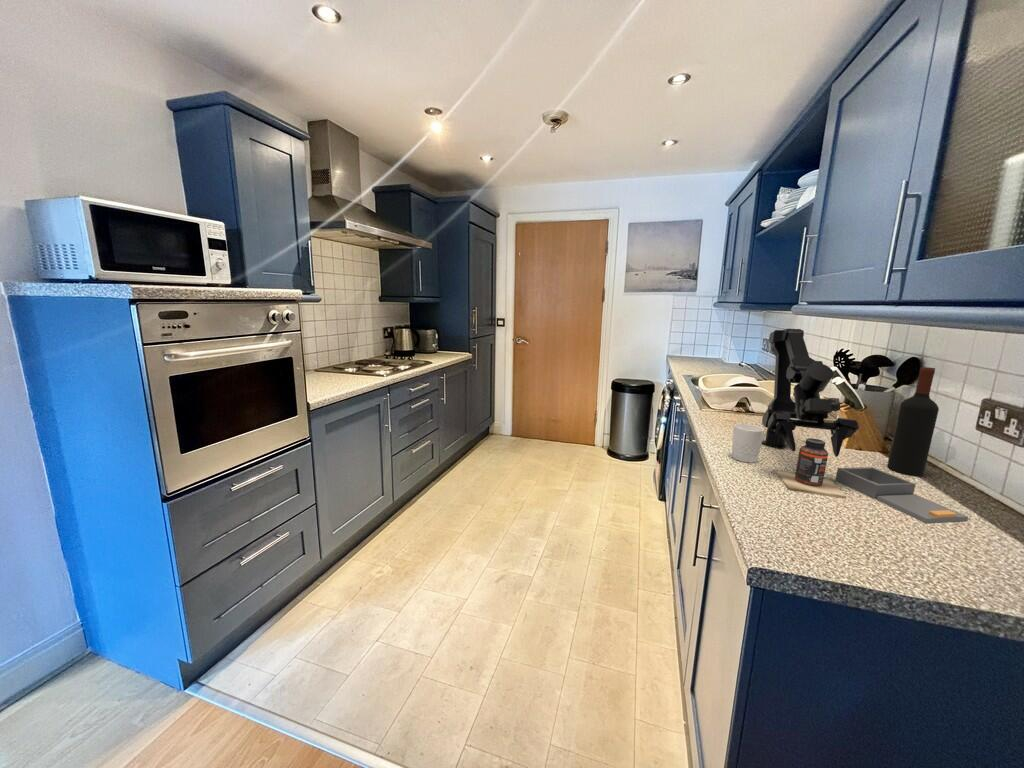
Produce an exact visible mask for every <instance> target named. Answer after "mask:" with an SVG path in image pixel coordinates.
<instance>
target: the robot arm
mask: <svg viewBox="0 0 1024 768" xmlns="http://www.w3.org/2000/svg"><path fill="white" fill-rule="evenodd" d="M804 335H805V332H804V329H801V328H786V329H775V330H774V331H772V332H770V333H769V337H768V342H769V344H770V351H771V352H772V354H773V355H774V356H775V364H774V365H775V366H774V367H775V369H774V387H773V399H772V400H771V401H770V403H769V404H768V405H767V409H766V410H765V412H764V414H763V416H762V417H761V418H762V419H761V425H763V428H766V435H765V440H762V444H761V445H765V444H766V445H765V446H769V445H770V447H773V448H777V449H785V448H787V447H789V449H790V450H791V451H792V452H795V451H796V441H795V438H794V436H795V435H794V431H795V429H796V428H797V427H800V428H807V429H817V430H826V431H828V430H829V431H830V434H831V436H830V441H831V446H832V451H833V454H834V455H833V456H834V457H835V458H838V457H839V455H840V452H841V448H842V445H843V442H844V441H845V440H846V439H849V438H852V436H853V435H854V434H855V433H856V432H857V431H858V430H859V429H860V426H859V425H860V424H859V422H858V421H857V420H856V419H855V418H846V417H845V418H843V417H837V419H836V420H834V422H831V421H825V419H828V417H829V413H830V414H831V413H832V412H838V411H840V410H841V401H840V398H838V397H837V398H836V397H830V398H828V399H827V398H826V399H825V398H821V395H820V393H821V392H823V391H824V390H825V389H826V387H827V386H828V385H829V383H830V382H831V380H832V379H833V377H834V375H835V373H834V370H833V369H832V368H831V367H830V366H828V365H826V364H824V363H823V361H822V360H815V359H813V358H811V357H810V354H809V351H808V348H807V346H806V345H807V344H806V341H805V339H804ZM792 384H795V386H794V387H793V392H792ZM792 393H793V394H792ZM791 395H792V396H793V397H794V400H793V399H792V398H791V397H792V396H791Z"/></svg>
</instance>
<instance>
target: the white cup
mask: <svg viewBox="0 0 1024 768" xmlns="http://www.w3.org/2000/svg"><path fill="white" fill-rule="evenodd" d="M732 432H733V433H732V445H731V446H732V447H731V448H732V449H731V451H732V452H731V457H732V458H733V459H734V460H736V461H738V460H739V461H738V462H742V463H747V462H749V464H750V463H751V464H752V463H753V464H754V463H757V462H758V460H759V454H760V451H761V447H762V445H763V444H762V441H763V437H764V434H765V433H764V432H765V428H764V427H762V426H759V425H755V424H750V423H735V424H733V431H732Z"/></svg>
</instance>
